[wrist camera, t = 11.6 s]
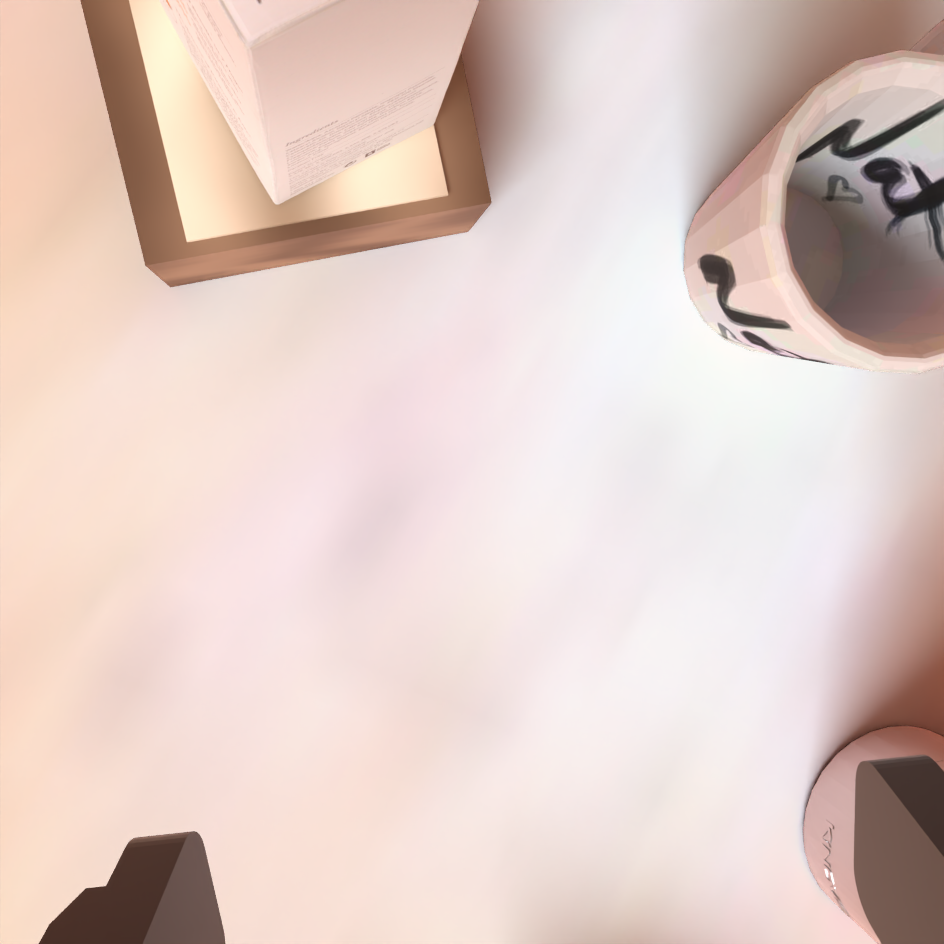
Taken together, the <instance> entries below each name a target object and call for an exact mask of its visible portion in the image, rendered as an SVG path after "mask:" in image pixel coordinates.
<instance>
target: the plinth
mask: <svg viewBox="0 0 944 944" xmlns="http://www.w3.org/2000/svg"><path fill="white" fill-rule="evenodd" d="M81 4H82V8H83V12H84V16H85V20H86V24H87V29H88V33H89V37H90V41H91V45H92V49H93V53H94V57H95V61H96V65H97V69H98V73H99V78H100V82H101V86H102V90H103V94H104V98H105V102H106V106H107V110H108V114H109V118H110V122H111V127H112V131H113V135H114V139H115V143H116V147H117V151H118V155H119V159H120V163H121V167H122V171H123V176H124V180H125V184H126V188H127V192H128V196H129V200H130V204H131V208H132V212H133V216H134V220H135V225H136V229H137V233H138V237H139V241H140V245H141V249H142V253H143V257H144V261H145V265H146V266H147V267H148V268H149V269H150V270H151V271H152V272H154V273H155V274H156V275H157V276H158V277H159V278H160V279H162V280H163V281H164V282H165V283H166V284H167V285H169V286H170V287H174V286H179V285H185V284H190V283H195V282H201V281H206V280H212V279H217V278H222V277H228V276H233V275H238V274H244V273H249V272H254V271H260V270H265V269H270V268H276V267H281V266H287V265H292V264H297V263H303V262H308V261H313V260H319V259H324V258H329V257H335V256H340V255H346V254H351V253H356V252H362V251H367V250H372V249H378V248H383V247H388V246H394V245H399V244H404V243H410V242H415V241H421V240H426V239H431V238H437V237H442V236H447V235H453V234H458V233H463V232H468V231H469V230H470V229H471V227H472V226H473V225H474V224H475V222H476V221H477V220H478V219H479V218H480V216H481V215H482V214H483V213H484V211H485V210H486V209H487V208H488V206H489V205H490V204H491V198H490V193H489V188H488V183H487V178H486V174H485V169H484V164H483V159H482V154H481V149H480V144H479V139H478V135H477V130H476V125H475V120H474V115H473V110H472V105H471V100H470V96H469V91H468V86H467V81H466V76H465V71H464V66H463V62H462V57H461V53H460V56H459V59H458V62H457V65H456V67H455V70H454V73H453V75H452V78H451V81H450V83H449V86H448V88H447V90H446V93H445V96H444V99H443V101H442V104H441V107H440V110H439V113H438V115H437V118H436V121H435V123H434V125H432V126H431V127H429V128H427V129H425V130H423V131H421V132H419V133H417V134H415V135H413V136H411V137H409V138H407V139H405V140H403V141H401V142H399V143H397V144H395V145H393V146H391V147H389V148H387V149H385V150H383V151H381V152H379V153H377V154H375V155H373V156H371V157H370V158H368V159H366V160H364V161H362V162H360V163H358V164H356V165H354V166H352V167H350V168H348V169H346V170H344V171H343V172H341V173H339V174H337V175H335V176H333V177H331V178H329V179H327V180H325V181H324V182H322V183H320V184H318V185H315V186H313V187H312V188H310V189H308V190H306V191H304V192H302V193H300V194H298V195H296V196H294V197H292V198H290V199H289V200H287V201H285V202H283V203H281V204H279V205H276V204H275V203H274V202H273V201H272V199H271V197H270V196H269V194H268V192H267V191H266V189H265V188H264V186H263V184H262V183H261V181H260V179H259V178H258V176H257V174H256V172H255V171H254V169H253V167H252V165H251V164H250V162H249V160H248V158H247V157H246V155H245V153H244V151H243V150H242V148H241V146H240V144H239V143H238V141H237V139H236V137H235V135H234V134H233V132H232V130H231V128H230V127H229V125H228V123H227V121H226V120H225V118H224V116H223V114H222V112H221V111H220V109H219V107H218V105H217V104H216V102H215V100H214V98H213V96H212V95H211V93H210V91H209V89H208V88H207V86H206V84H205V82H204V81H203V79H202V77H201V75H200V73H199V72H198V70H197V68H196V66H195V65H194V63H193V61H192V59H191V57H190V56H189V54H188V52H187V50H186V48H185V47H184V45H183V43H182V41H181V39H180V38H179V36H178V34H177V32H176V30H175V29H174V27H173V25H172V23H171V21H170V20H169V18H168V16H167V14H166V12H165V10H164V9H163V7H162V5H161V3H160V1H159V0H81Z"/></svg>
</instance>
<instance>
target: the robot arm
mask: <svg viewBox="0 0 944 944" xmlns="http://www.w3.org/2000/svg"><path fill="white" fill-rule="evenodd" d="M803 835H804V848H805V854H806V857H807V861H808V864H809V867H810V870H811V872H812V874H813V876H814V878H815V879H816V881H817V883H818V885H819V887H820V888H821V889H822V890H823V891H824V892H825V893H826V894H827V895H828V897H829V898H830V899H831V900H832V901H833V902H834V903H835V904H836V905H837V906H838V907H840V908H841V910H842V911H843V912H844V913H845V914H846V915H847V916H848V917H850V918H851V919H852V920H853V921H854V922H855V923H856V924H857V925H859V926H860V927H861V928H862V929H863V930H864V931H865V932H866V933H867V934H868V935H869V936H870V937H871V938H872V939H873V940H874V941H875V942H877V944H944V737H943V736H941V735H939V734H936V733H934V732H932V731H930V730H927V729H923V728H918V727H912V726H894V727H886V728H883V729H879V730H876V731H872V732H869V733H867V734H866V735H864V736H862V737H860V738H858V739H856V740H854V741H852V742H851V743H850V744H849V745H847V746H846V747H845V748H844V749H843V750H841V751H840V752H839V753H838V754H836V756H835V757H834V758H833V759H832V760H831V762H830V763H829V764H828V765H827V766H826V768H825V769H824V770H823V771H822V773H821V775H820V777H819V779H818V780H817V782H816V784H815V786H814V788H813V789H812V792H811V795H810V798H809V802H808V805H807V808H806V812H805V820H804V828H803ZM39 944H225V936H224V930H223V926H222V921H221V917H220V913H219V908H218V904H217V899H216V895H215V891H214V886H213V882H212V878H211V873H210V869H209V865H208V860H207V856H206V852H205V847H204V844H203V841H202V838H201V837H200V835H199V834H198V833H197V832H195V831H193V832H184V833H175V834H166V835H156V836H147V837H138V838H133V839H132V840H131V841H130V842H129V843H128V844H127V846H126V848H125V849H124V851H123V853H122V855H121V857H120V859H119V861H118V863H117V865H116V867H115V869H114V871H113V873H112V875H111V877H110V879H109V881H108V883H107V885H106V886H104V887H95V888H86V889H85V890H84V891H83V892H82V893H81V894H80V895H79V896H78V897H77V898H76V899H75V900H74V901H73V902H72V903H71V904H70V905H69V906H68V907H67V908H66V909H65V910H64V911H63V912H62V913H61V914H60V915H59V916H58V917H57V918H56V919H55V920H54V921H52V922H51V923H50V924H49V926H48V928H47V930H46V932H45V934H44V935H43V937H42V939H41V941H40V943H39Z"/></svg>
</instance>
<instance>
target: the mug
mask: <svg viewBox="0 0 944 944" xmlns="http://www.w3.org/2000/svg"><path fill="white" fill-rule="evenodd" d="M683 271H684V275H685V279H686V283H687V287H688V292H689V296H690V299H691V300H692V302H693V304H694V305H695V307H696V309H697V311H698V312H699V314H700V316H701V317H702V319H703V321H704V322H705V323H706V324H707V325H708V326H709V327H710V328H712V329H713V330H714V331H715V332H716V333H717V334H718V335H719V336H721V337H722V338H723V339H724V340H725V341H728V342H730V343H733V344H735V345H737V346H740V347H742V348H744V349H747V350H749V351H755V352H761V353H767V354H773V355H779V356H785V357H791V358H797V359H803V360H809V361H815V362H821V363H827V364H833V365H839V366H845V367H851V368H857V369H863V370H869V371H878V372H895V373H912V374H919V373H923V372H926V371H929V370H933V369H936V368H940V367H943V366H944V20H942V21H941V22H940V23H938V24H937V25H936V26H935V27H934V28H933V29H932V30H931V31H930V32H929V33H927V34H926V35H925V36H924V37H923V38H922V39H921V40H920V41H919V42H918V43H917V44H916V45H914V46H913V47H912V49H911V50H910V51H906V50H898V51H894V52H890V53H885V54H881V55H877V56H873V57H868V58H864V59H860V60H856V61H851V62H849V63H848V64H846V65H845V66H843V67H842V68H840V69H839V70H837V71H836V72H834V73H833V74H831V75H830V76H828V77H827V78H825V79H823V80H822V81H820V82H819V83H817V84H816V85H814V86H813V87H811V88H810V89H809V90H808V91H807V92H806V94H805V95H804V96H803V97H802V98H801V99H800V100H799V101H798V102H797V103H796V104H795V105H794V106H793V107H792V108H791V109H790V111H789V112H788V113H787V114H786V115H785V116H784V117H783V118H782V119H781V120H780V121H779V122H778V123H777V124H776V125H775V127H774V128H773V129H772V130H771V131H770V132H769V133H768V134H767V135H766V136H765V137H764V138H763V139H762V140H761V141H760V142H759V144H758V145H757V146H756V147H755V148H754V149H753V150H752V151H751V152H750V153H749V154H748V155H747V156H746V157H745V158H744V160H743V161H742V162H741V163H740V164H739V165H738V166H737V167H736V168H735V169H734V170H733V171H732V172H731V173H730V174H729V176H728V177H727V178H726V179H725V180H724V181H723V182H722V183H721V184H720V185H719V186H718V187H717V188H716V189H715V190H714V191H713V193H712V194H711V195H710V196H709V198H708V199H707V200H706V201H705V203H704V204H703V205H702V207H701V208H700V209H699V210H698V212H697V213H696V214H695V216H694V219H693V222H692V224H691V227H690V230H689V232H688V235H687V238H686V241H685V252H684V270H683Z"/></svg>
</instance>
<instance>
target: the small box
mask: <svg viewBox="0 0 944 944" xmlns="http://www.w3.org/2000/svg"><path fill="white" fill-rule="evenodd" d="M159 1H160V3H161V5H162V7H163V9H164V10H165V12H166V14H167V16H168V18H169V20H170V21H171V23H172V25H173V27H174V29H175V30H176V32H177V34H178V36H179V38H180V39H181V41H182V43H183V45H184V47H185V48H186V50H187V52H188V54H189V56H190V57H191V59H192V61H193V63H194V65H195V66H196V68H197V70H198V72H199V73H200V75H201V77H202V79H203V81H204V82H205V84H206V86H207V88H208V89H209V91H210V93H211V95H212V96H213V98H214V100H215V102H216V104H217V105H218V107H219V109H220V111H221V112H222V114H223V116H224V118H225V120H226V121H227V123H228V125H229V127H230V128H231V130H232V132H233V134H234V135H235V137H236V139H237V141H238V143H239V144H240V146H241V148H242V150H243V151H244V153H245V155H246V157H247V158H248V160H249V162H250V164H251V165H252V167H253V169H254V171H255V172H256V174H257V176H258V178H259V179H260V181H261V183H262V184H263V186H264V188H265V189H266V191H267V192H268V194H269V196H270V197H271V199H272V201H273V202H274V203H275V204H276V205H279V204H281V203H283V202H285V201H287V200H289V199H290V198H292V197H294V196H296V195H298V194H300V193H302V192H304V191H306V190H308V189H310V188H312V187H313V186H315V185H318V184H320V183H322V182H324V181H325V180H327V179H329V178H331V177H333V176H335V175H337V174H339V173H341V172H343V171H344V170H346V169H348V168H350V167H352V166H354V165H356V164H358V163H360V162H362V161H364V160H366V159H368V158H370V157H371V156H373V155H375V154H377V153H379V152H381V151H383V150H385V149H387V148H389V147H391V146H393V145H395V144H397V143H399V142H401V141H403V140H405V139H407V138H409V137H411V136H413V135H415V134H417V133H419V132H421V131H423V130H425V129H427V128H429V127H431V126H432V125H434V123H435V121H436V118H437V115H438V113H439V110H440V107H441V104H442V101H443V99H444V96H445V93H446V90H447V88H448V86H449V83H450V81H451V78H452V75H453V73H454V70H455V67H456V65H457V62H458V59H459V56H460V53H461V50H462V47H463V44H464V42H465V39H466V37H467V34H468V31H469V28H470V26H471V23H472V20H473V17H474V14H475V12H476V9H477V6H478V3H479V0H159Z"/></svg>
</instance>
